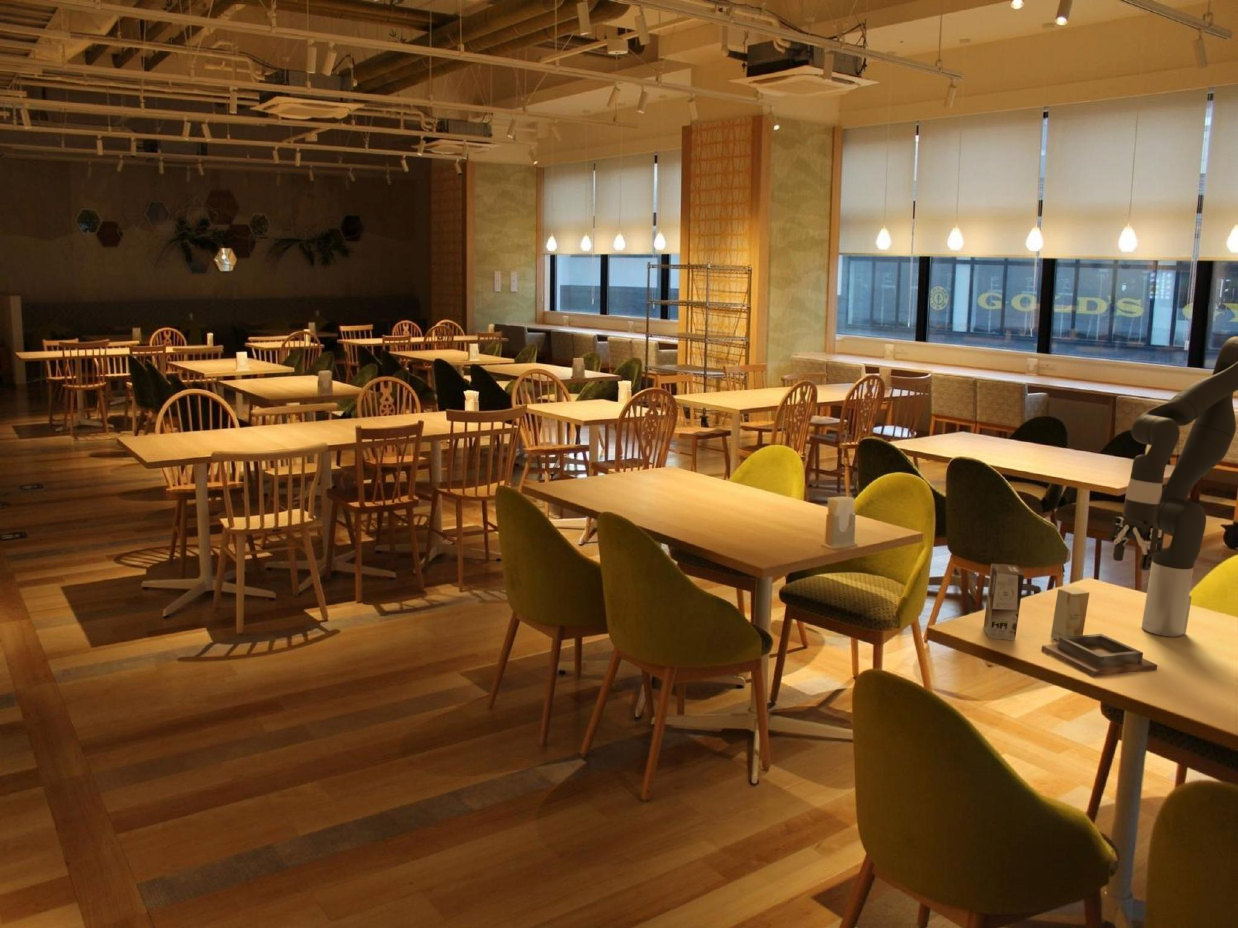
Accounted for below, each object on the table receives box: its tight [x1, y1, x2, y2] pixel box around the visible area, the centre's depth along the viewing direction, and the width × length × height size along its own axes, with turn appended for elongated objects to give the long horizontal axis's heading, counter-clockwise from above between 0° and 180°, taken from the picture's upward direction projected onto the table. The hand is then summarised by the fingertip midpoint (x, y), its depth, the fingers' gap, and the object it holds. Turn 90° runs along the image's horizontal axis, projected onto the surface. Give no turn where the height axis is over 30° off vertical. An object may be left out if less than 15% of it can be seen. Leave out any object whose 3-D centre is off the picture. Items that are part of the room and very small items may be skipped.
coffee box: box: [983, 563, 1025, 642], centre depth 256 cm, size 9×6×16 cm
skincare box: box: [1050, 586, 1090, 641], centre depth 255 cm, size 6×4×12 cm
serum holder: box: [1041, 633, 1159, 678], centre depth 243 cm, size 18×16×4 cm
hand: (1130, 565), depth 258 cm, fingers open, 8 cm apart
